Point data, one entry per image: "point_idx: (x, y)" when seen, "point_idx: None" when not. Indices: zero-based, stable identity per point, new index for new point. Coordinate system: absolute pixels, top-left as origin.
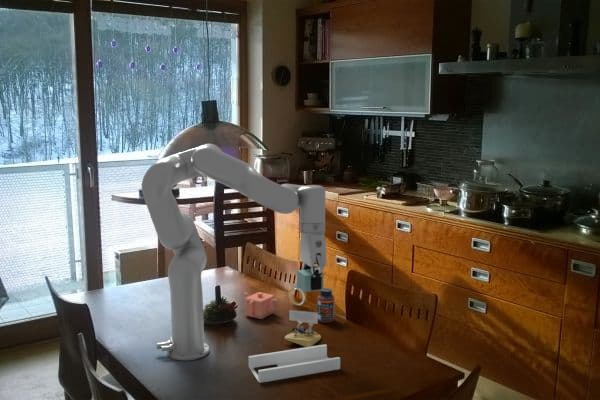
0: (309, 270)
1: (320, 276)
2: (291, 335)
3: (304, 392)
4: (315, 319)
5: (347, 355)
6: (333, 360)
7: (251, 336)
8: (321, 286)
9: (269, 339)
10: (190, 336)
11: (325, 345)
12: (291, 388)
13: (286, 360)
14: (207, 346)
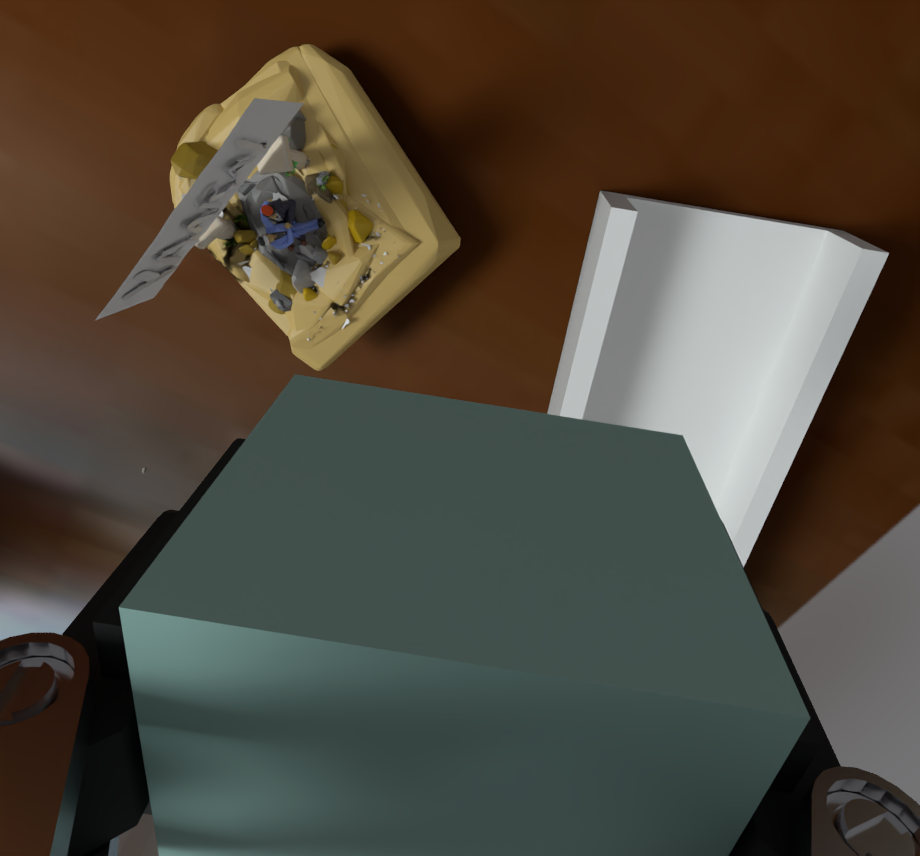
0: (290, 813)
1: (886, 823)
2: (318, 328)
3: (876, 520)
4: (274, 119)
5: (678, 12)
6: (859, 303)
7: (113, 431)
8: (731, 542)
9: (187, 366)
10: None
11: (629, 220)
12: (797, 545)
13: None
14: None
